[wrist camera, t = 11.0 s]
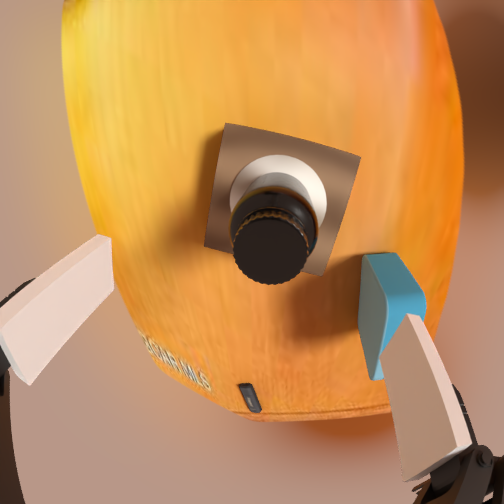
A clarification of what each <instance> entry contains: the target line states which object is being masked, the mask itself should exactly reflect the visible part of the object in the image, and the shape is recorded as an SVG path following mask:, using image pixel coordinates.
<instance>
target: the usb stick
mask: <svg viewBox="0 0 504 504" xmlns="http://www.w3.org/2000/svg"><path fill="white" fill-rule="evenodd" d="M239 388H240V390H241V392H242V394H243V396H244V398H245V401H246V403H247V405H248V407H249V409H250V411H251V412H254V413H260V412H261V410H262V408H261V406H260V403H259V401H258V398H257V395H256V393H255V391H254V388H253V386H252V384H250V383H242V384H240V385H239Z"/></svg>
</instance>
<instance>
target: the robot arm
mask: <svg viewBox="0 0 504 504" xmlns="http://www.w3.org/2000/svg"><path fill="white" fill-rule="evenodd" d="M113 290H114V282H113V268H112V247H111V238H110V237H106V236H103V235H100V234H97V235H96V236H94V237H93V238H91V239H90V240H88V241H87V242H85V243H84V244H83V245H82V246H80V247H78V248H77V249H75V250H74V251H72V252H71V253H70V254H68V255H67V256H65V257H64V258H63V259H61V260H60V261H58V262H57V263H56V264H54V265H53V266H52V267H50V268H49V269H48V270H46V271H45V272H44V273H42V274H41V275H40V276H38V277H37V278H34V279H31V280H29V281H27V282H25V283H23V284H22V285H20V286H19V287H18V288H17V289H16V290H15V292H14V291H13V292H12V293H11V294H9V296H8V297H6V298H5V299H3V300H2V301H1V302H0V504H25V501H24V498H23V494H22V490H21V486H20V482H19V477H18V473H17V468H16V462H15V456H14V449H13V442H12V434H11V420H10V396H9V395H10V392H9V391H10V387H9V386H10V375H9V371H8V370H7V369H8V368H9V367H10V366H11V367H12V368H13V370H14V372H15V373H16V375H17V376H18V377H19V378H20V379H22V380H23V381H24V382H25V383H27V384H28V385H29V386H30V385H31V384H32V382H33V381H34V380H35V379H36V377H37V376H38V375H39V374H40V372H41V371H42V370H43V368H44V367H45V366H46V365H47V364H48V362H49V361H50V360H51V359H52V358H53V356H54V355H55V354H56V353H57V352H58V351H59V349H60V348H61V347H62V346H63V345H64V344H65V342H66V341H67V340H68V339H69V338H70V337H71V335H72V334H73V333H74V332H75V331H76V330H77V329H78V328H79V327H80V325H81V324H82V323H83V322H84V321H85V320H86V319H87V318H88V316H89V315H90V314H91V313H92V312H93V311H94V310H95V309H96V308H97V307H98V306H99V305H100V303H102V302H103V301H104V299H105V298H106V297H107V296H108V295H109V294H110V293H111V292H112V291H113ZM379 359H380V363H381V367H382V371H383V375H384V379H385V383H386V388H387V392H388V396H389V401H390V406H391V410H392V415H393V420H394V425H395V430H396V437H397V442H398V449H399V455H400V462H401V470H402V478H403V482H408V481H413V480H419V479H421V478H422V477H424V476H426V475H427V474H429V473H430V476H431V478H430V479H428V480H427V481H425V482H423V483H421V484H419V485H418V486H416V487H414V488H413V490H412V491H413V492H414V491H416V490H418V489H420V488H422V489H421V490H420V491H418V492H417V493H416V494H418V496H417V498H416V500H415V502H414V503H413V504H504V455H503V456H502V457H496V456H493V454H492V452H491V451H490V449H489V448H488V447H486V446H484V445H479V446H478V443H477V441H476V437H475V434H474V431H473V428H472V425H471V422H470V419H469V416H468V414H467V411H466V408H465V406H464V403H463V400H462V397H461V395H460V393H459V391H458V390H457V389H456V387H455V386H454V385H453V384H451V382H450V379H449V377H448V374H447V373H446V370H445V368H444V365H443V363H442V361H441V359H440V356H439V354H438V352H437V350H436V348H435V346H434V343H433V341H432V339H431V337H430V335H429V333H428V331H427V329H426V327H425V325H424V323H423V321H422V320H421V318H420V316H418V315H413V314H408V313H406V315H405V317H404V319H403V320H402V322H401V324H400V325H399V327H398V329H397V330H396V332H395V333H394V335H393V337H392V338H391V340H390V341H389V343H388V344H387V346H386V347H385V349H384V350H383V352H382V353H381V355H380V356H379ZM493 491H494V492H493ZM491 492H493V498H491V499H489V500H487V501H485V502H483V499H484V497H485V496H486V495H488V494H490V493H491Z"/></svg>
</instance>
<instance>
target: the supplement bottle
mask: <svg viewBox="0 0 504 504" xmlns="http://www.w3.org/2000/svg"><path fill="white" fill-rule="evenodd" d="M228 231H229V238H230V242H231V245H232V247H233V252H234V254H233V256H234V258H235V263H236V264H237V265H238V267H239V269H240V270H242V272H243V274H245V275H247V277H248V278H250V279H253V280H254V281H255V282H259V283H261V284H267V285H270V284H274V285H276V284H278V283H280V284H282V283H284V282H287V281H290V279H292V278H295V276H296V275H297V274H299V273H300V271H301V269H303V268H304V264H305V263H306V262H307V258H308V257H309V256H310V255H311V253H312V252H313V250H314V248H315V246H316V244H317V240H318V235H319V226H318V220H317V216H316V213H315V210H314V207H313V204H312V201H311V198H310V196H309V193H308V191H307V189H306V188H305V186H304V185H303V184H302V183H301V182H300V181H299V180H298V179H297V178H295V177H293V176H291V175H289V174H286V173H281V172H272V173H267V174H264V175H262V176H260V177H258V178H257V179H255V180H254V181H253V182H252V183H251V184H250V186H249V187H248V188H247V189H246V191H245V192H244V194H243V195H242V197H241V198H240V199H239V201H238V202H237V204H236V205H235V207H234V209H233V211H232V213H231V216H230V219H229V226H228Z"/></svg>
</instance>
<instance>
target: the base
mask: <svg viewBox="0 0 504 504" xmlns="http://www.w3.org/2000/svg"><path fill="white" fill-rule="evenodd" d="M360 159H361V157H360V156H357V155H354V154H351V153H348V152H345V151H342V150H339V149H335V148H332V147H329V146H325V145H322V144H318V143H315V142H311V141H307V140H304V139H300V138H296V137H292V136H288V135H284V134H279V133H275V132H271V131H266V130H261V129H257V128H252V127H246V126H241V125H236V124H229V123H225V127H224V132H223V137H222V142H221V147H220V152H219V157H218V163H217V168H216V174H215V179H214V185H213V191H212V197H211V203H210V209H209V215H208V222H207V228H206V235H205V242H204V247H208V248H212V249H215V250H219V251H223V252H227V253H231V254H234V252H233V247H232V245H231V242H230V238H229V231H228V226H229V219H230V216H231V213H232V211H233V209H234V207H235V205H236V204H237V202H238V201H239V199H240V198H241V197H242V195H243V194H244V192H245V191H246V189H247V188H248V187H249V186H250V184H251V183H252V182H253V181H254V180H255V179H257V178H258V177H260V176H262V175H264V174H267V173H272V172H281V173H286V174H289V175H291V176H293V177H295V178H297V179H298V180H299V181H300V182H301V183H302V184H303V185H304V186H305V188H306V189H307V191H308V193H309V196H310V198H311V201H312V204H313V207H314V210H315V213H316V216H317V220H318V226H319V235H318V240H317V244H316V246H315V248H314V250H313V252H312V253H311V255H310V256H309V257H308V258H307V262H306V263H305V264H304V268H303V269H301V271H302V272H306V273H310V274H314V275H318V276H323V273H324V271H325V268H326V265H327V262H328V260H329V257H330V254H331V251H332V248H333V246H334V243H335V240H336V237H337V234H338V231H339V228H340V225H341V222H342V219H343V216H344V213H345V210H346V207H347V203H348V200H349V197H350V194H351V190H352V187H353V184H354V180H355V177H356V174H357V170H358V166H359V163H360Z"/></svg>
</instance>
